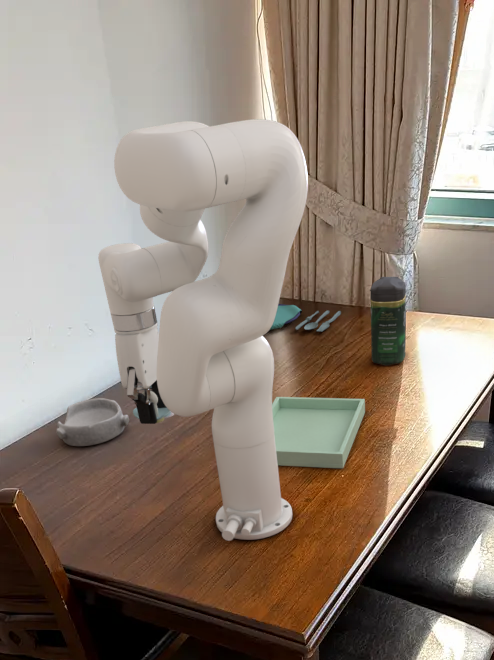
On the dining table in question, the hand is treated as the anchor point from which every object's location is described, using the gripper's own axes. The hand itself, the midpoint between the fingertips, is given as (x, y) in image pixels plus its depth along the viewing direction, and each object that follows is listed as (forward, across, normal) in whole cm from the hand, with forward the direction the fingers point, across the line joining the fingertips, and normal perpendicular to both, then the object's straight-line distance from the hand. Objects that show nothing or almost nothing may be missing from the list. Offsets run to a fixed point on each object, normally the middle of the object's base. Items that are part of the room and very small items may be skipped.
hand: (154, 415), depth 142 cm
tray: (+10, -13, +25) cm, 30 cm away
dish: (+9, -11, -20) cm, 24 cm away
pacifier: (+1, -1, 0) cm, 1 cm away
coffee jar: (+10, -54, +35) cm, 65 cm away
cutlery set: (+8, -79, +2) cm, 79 cm away
